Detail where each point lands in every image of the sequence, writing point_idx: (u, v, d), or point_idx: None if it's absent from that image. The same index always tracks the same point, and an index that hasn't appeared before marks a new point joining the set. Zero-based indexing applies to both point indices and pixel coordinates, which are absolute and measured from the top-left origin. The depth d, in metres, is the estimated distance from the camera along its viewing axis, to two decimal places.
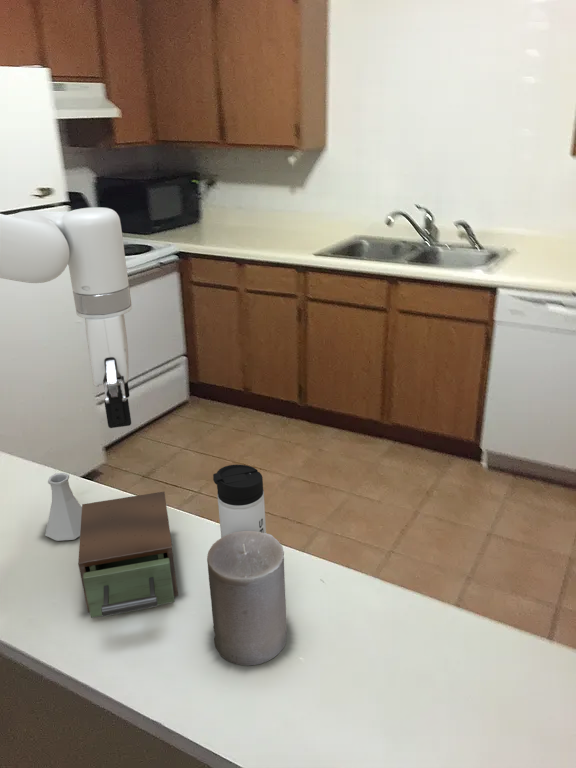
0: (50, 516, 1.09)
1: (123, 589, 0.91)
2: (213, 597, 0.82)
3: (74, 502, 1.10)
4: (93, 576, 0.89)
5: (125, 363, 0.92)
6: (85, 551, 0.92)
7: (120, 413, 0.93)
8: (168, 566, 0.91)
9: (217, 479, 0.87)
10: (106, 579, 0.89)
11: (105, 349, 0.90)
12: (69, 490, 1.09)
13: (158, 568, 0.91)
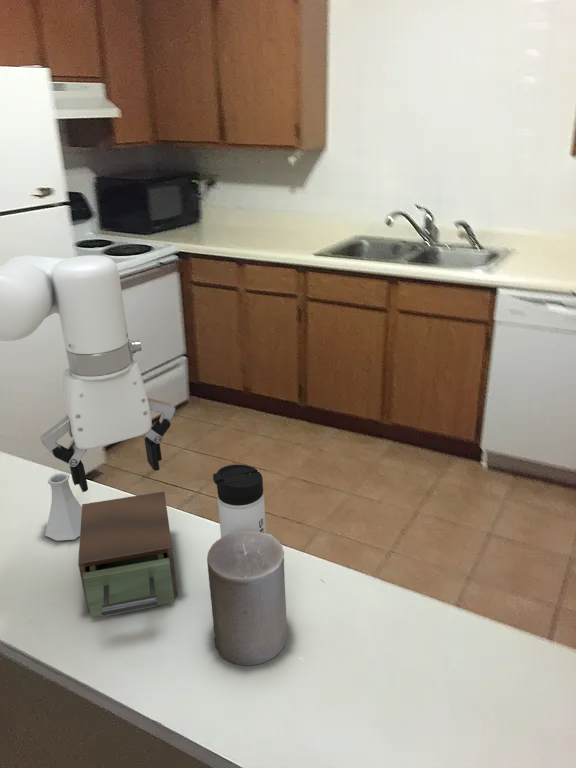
0: (50, 516, 1.09)
1: (123, 589, 0.91)
2: (213, 597, 0.82)
3: (74, 502, 1.10)
4: (93, 576, 0.89)
5: (75, 429, 0.82)
6: (85, 551, 0.92)
7: (72, 474, 0.86)
8: (168, 566, 0.91)
9: (217, 479, 0.87)
10: (106, 579, 0.89)
11: (65, 405, 0.83)
12: (69, 490, 1.09)
13: (158, 568, 0.91)
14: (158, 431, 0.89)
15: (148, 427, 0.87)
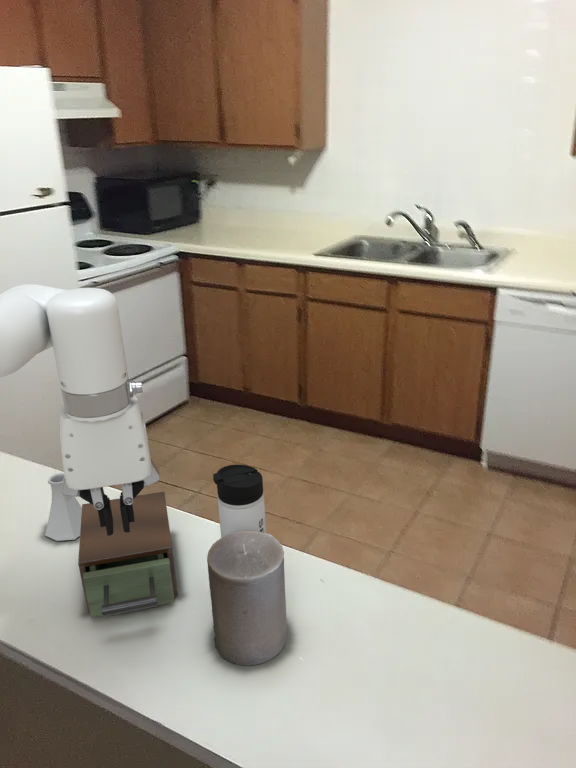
0: (50, 516, 1.09)
1: (123, 589, 0.91)
2: (213, 597, 0.82)
3: (74, 502, 1.10)
4: (93, 576, 0.89)
5: (65, 469, 0.78)
6: (85, 551, 0.92)
7: (99, 516, 0.83)
8: (168, 566, 0.91)
9: (217, 479, 0.87)
10: (106, 579, 0.89)
11: None
12: None
13: (158, 568, 0.91)
14: (134, 494, 0.82)
15: (146, 474, 0.80)
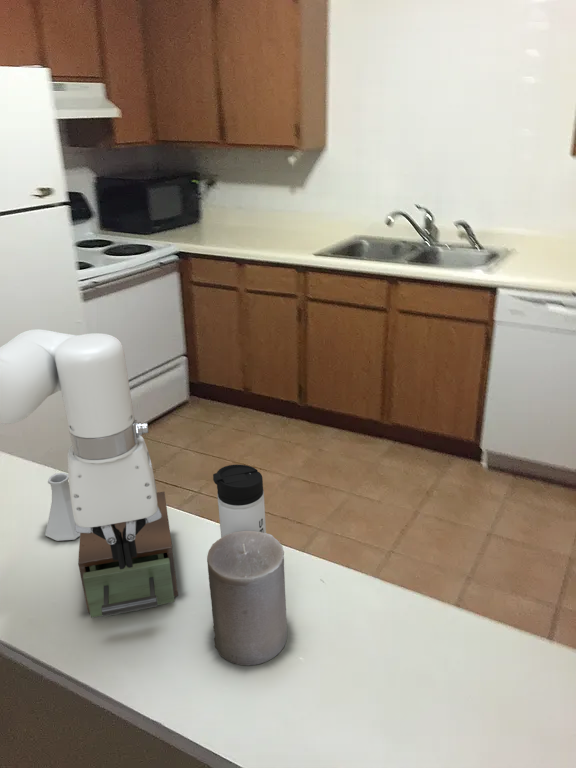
0: (50, 516, 1.09)
1: (123, 589, 0.91)
2: (213, 597, 0.82)
3: None
4: (93, 576, 0.89)
5: (74, 508, 0.80)
6: (85, 551, 0.92)
7: (111, 550, 0.85)
8: (168, 566, 0.91)
9: (217, 479, 0.87)
10: (106, 579, 0.89)
11: None
12: (69, 490, 1.09)
13: (158, 568, 0.91)
14: (137, 531, 0.84)
15: (152, 511, 0.82)
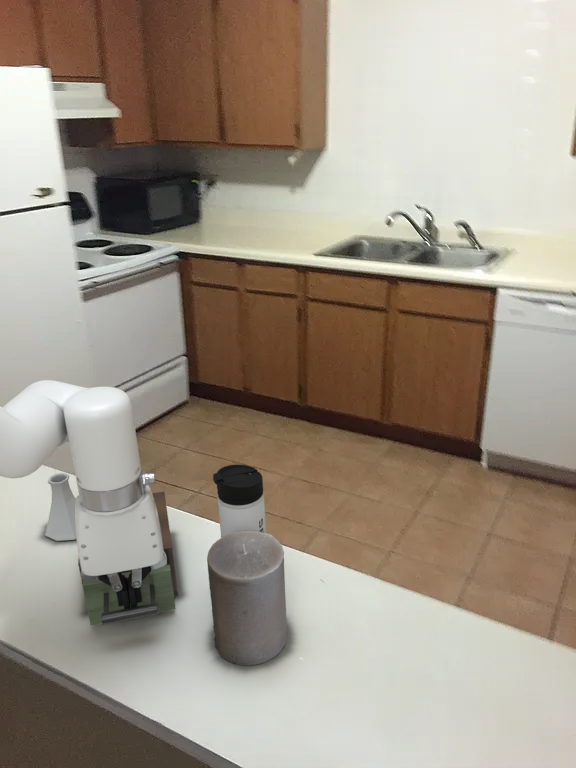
0: (50, 516, 1.09)
1: None
2: (213, 597, 0.82)
3: (74, 502, 1.10)
4: (93, 583, 0.88)
5: (81, 557, 0.81)
6: None
7: (117, 596, 0.86)
8: (169, 573, 0.90)
9: (217, 479, 0.87)
10: (106, 587, 0.88)
11: None
12: (69, 490, 1.09)
13: (158, 575, 0.89)
14: (142, 578, 0.85)
15: (158, 559, 0.83)
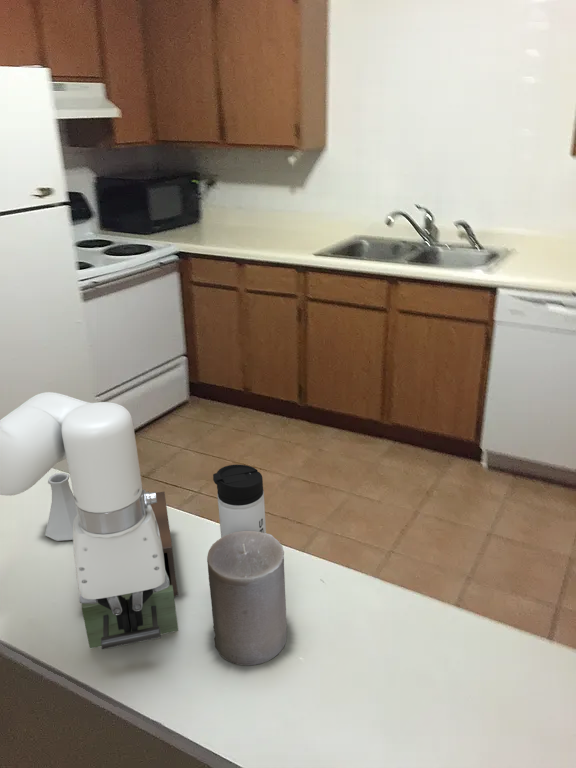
0: (50, 516, 1.09)
1: None
2: (213, 597, 0.82)
3: (74, 502, 1.10)
4: (92, 605, 0.84)
5: (79, 581, 0.77)
6: None
7: (117, 619, 0.82)
8: (171, 594, 0.86)
9: (217, 479, 0.87)
10: (106, 609, 0.84)
11: None
12: (69, 490, 1.09)
13: (161, 596, 0.86)
14: (144, 600, 0.82)
15: (160, 582, 0.80)
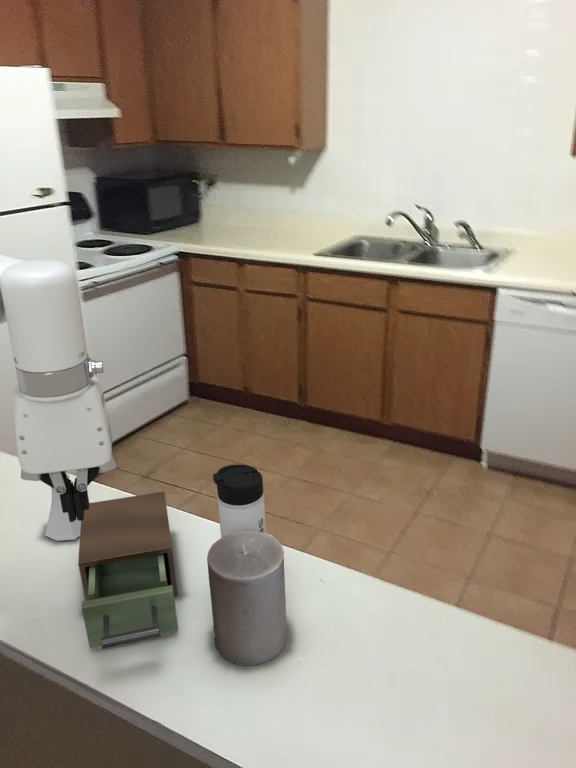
0: (50, 516, 1.09)
1: (124, 619, 0.86)
2: (213, 597, 0.82)
3: None
4: (92, 605, 0.84)
5: (19, 451, 0.74)
6: (85, 551, 0.92)
7: (61, 501, 0.79)
8: (171, 594, 0.86)
9: (217, 479, 0.87)
10: (106, 609, 0.84)
11: None
12: None
13: (161, 596, 0.86)
14: (89, 481, 0.78)
15: (105, 459, 0.76)
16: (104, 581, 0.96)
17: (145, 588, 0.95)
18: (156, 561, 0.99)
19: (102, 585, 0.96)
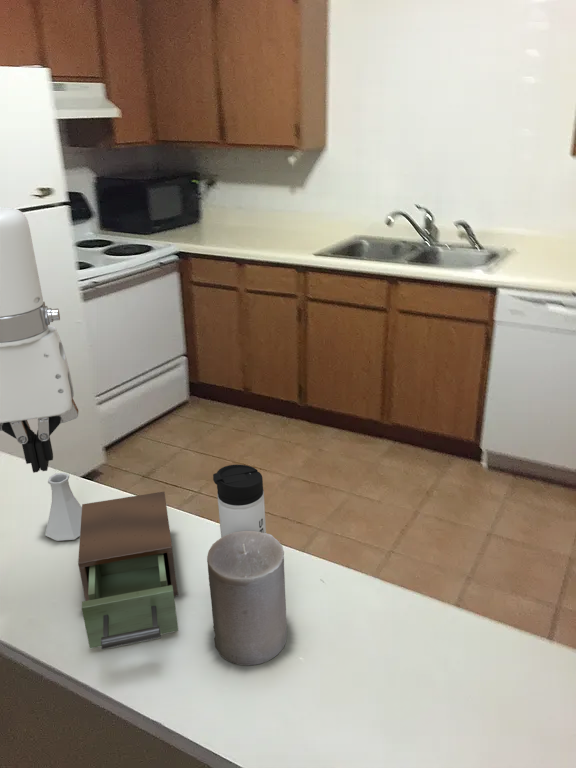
0: (50, 516, 1.09)
1: (124, 619, 0.86)
2: (213, 597, 0.82)
3: (74, 502, 1.10)
4: (92, 605, 0.84)
5: None
6: (85, 551, 0.92)
7: None
8: (171, 594, 0.86)
9: (217, 479, 0.87)
10: (106, 609, 0.84)
11: None
12: (69, 490, 1.09)
13: (161, 596, 0.86)
14: (51, 431, 0.79)
15: (65, 407, 0.77)
16: (104, 581, 0.96)
17: (145, 588, 0.95)
18: (156, 561, 0.99)
19: (102, 585, 0.96)
